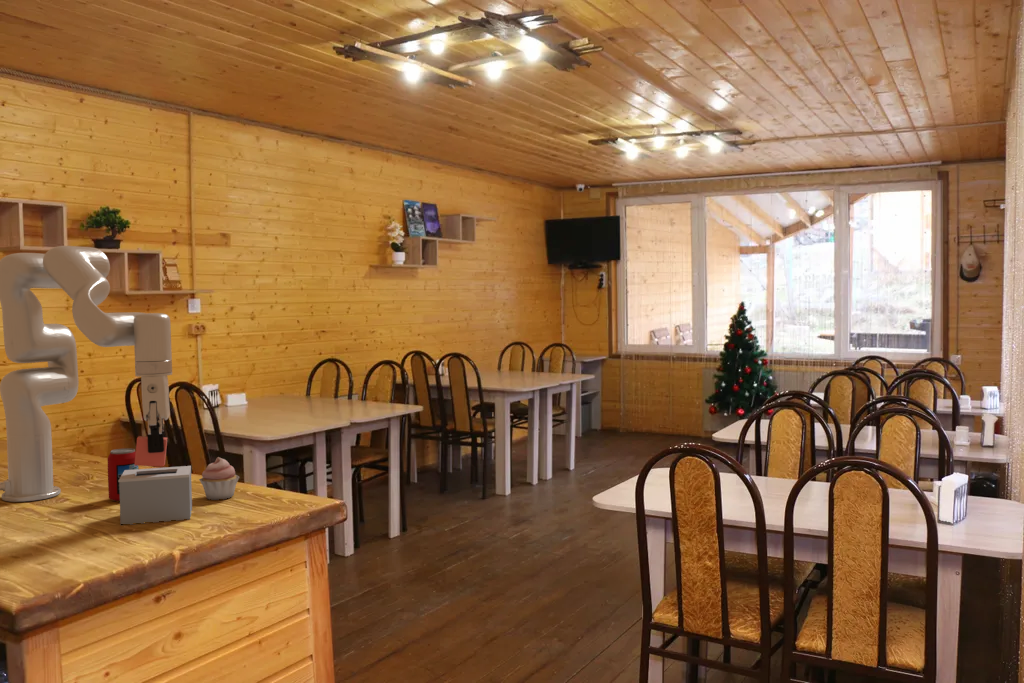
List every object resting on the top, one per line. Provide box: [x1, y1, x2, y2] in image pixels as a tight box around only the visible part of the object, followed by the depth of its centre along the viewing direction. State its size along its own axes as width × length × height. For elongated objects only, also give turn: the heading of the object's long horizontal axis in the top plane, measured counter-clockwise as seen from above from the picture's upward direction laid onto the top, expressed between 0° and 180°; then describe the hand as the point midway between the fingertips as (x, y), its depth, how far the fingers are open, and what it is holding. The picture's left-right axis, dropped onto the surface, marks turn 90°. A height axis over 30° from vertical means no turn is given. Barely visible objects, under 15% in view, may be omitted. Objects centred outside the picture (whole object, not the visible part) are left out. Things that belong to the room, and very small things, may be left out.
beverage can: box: [107, 447, 139, 502], centre depth 198 cm, size 7×7×12 cm
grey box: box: [119, 465, 193, 525], centre depth 183 cm, size 14×10×10 cm
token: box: [135, 435, 168, 467], centre depth 182 cm, size 6×3×6 cm, turn 109°
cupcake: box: [198, 456, 240, 501], centre depth 200 cm, size 9×9×10 cm
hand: (156, 450), depth 182 cm, fingers closed on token, 2 cm apart
